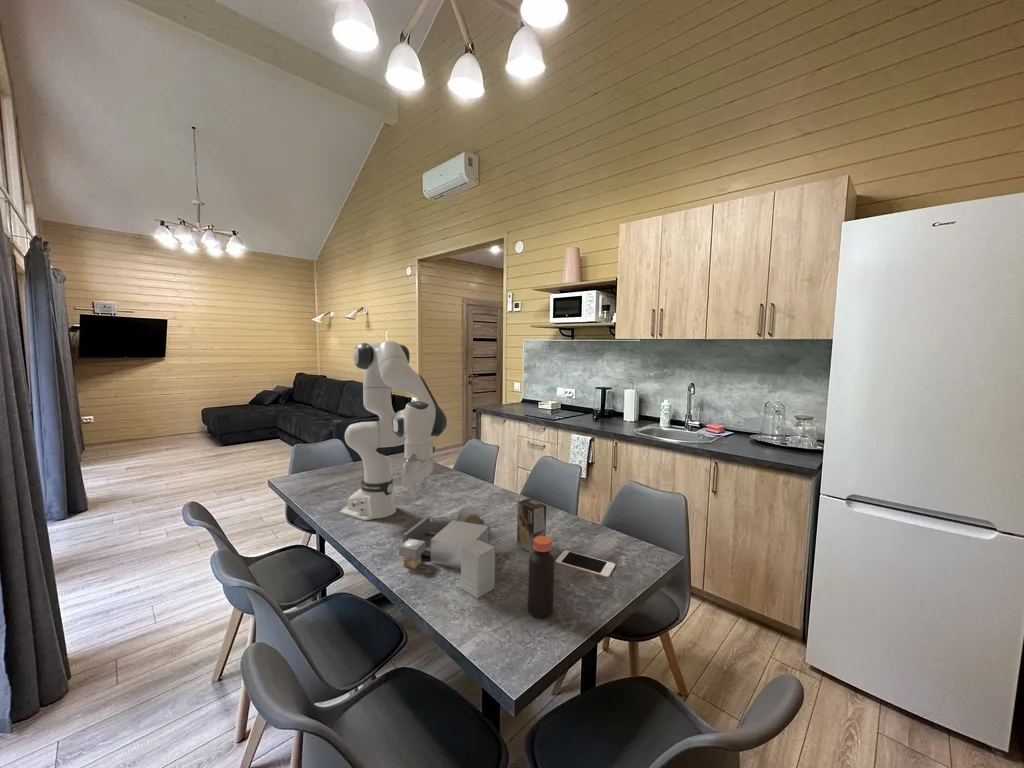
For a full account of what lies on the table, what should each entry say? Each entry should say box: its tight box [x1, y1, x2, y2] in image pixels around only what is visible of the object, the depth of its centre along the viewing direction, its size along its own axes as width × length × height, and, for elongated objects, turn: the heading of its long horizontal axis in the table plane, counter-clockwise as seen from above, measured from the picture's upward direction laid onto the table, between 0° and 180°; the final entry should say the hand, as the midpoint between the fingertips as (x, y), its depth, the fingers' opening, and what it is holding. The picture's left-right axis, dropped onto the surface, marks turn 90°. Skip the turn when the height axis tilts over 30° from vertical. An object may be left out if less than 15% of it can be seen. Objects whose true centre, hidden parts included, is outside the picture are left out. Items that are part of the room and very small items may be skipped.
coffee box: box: [516, 498, 547, 554], centre depth 147 cm, size 9×6×16 cm
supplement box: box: [460, 540, 496, 599], centre depth 121 cm, size 7×7×13 cm
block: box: [403, 554, 422, 569], centre depth 134 cm, size 4×4×4 cm
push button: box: [398, 538, 425, 559], centre depth 133 cm, size 6×6×3 cm
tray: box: [402, 515, 438, 558], centre depth 144 cm, size 15×16×8 cm
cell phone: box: [555, 549, 616, 578], centre depth 137 cm, size 9×18×1 cm, turn 61°
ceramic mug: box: [457, 505, 488, 526], centre depth 162 cm, size 11×8×8 cm
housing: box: [430, 519, 490, 570], centre depth 140 cm, size 14×16×8 cm
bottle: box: [527, 535, 556, 619], centre depth 111 cm, size 7×7×20 cm
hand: (418, 493), depth 136 cm, fingers open, 8 cm apart
